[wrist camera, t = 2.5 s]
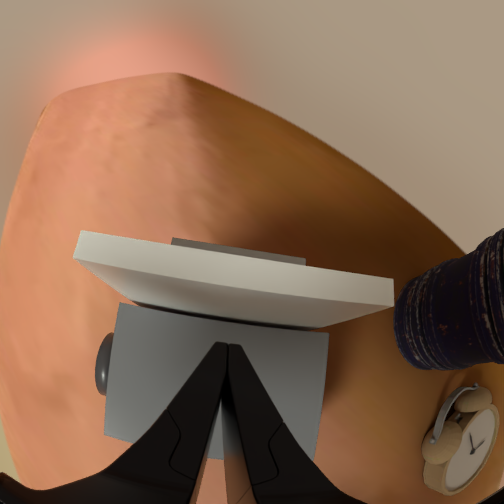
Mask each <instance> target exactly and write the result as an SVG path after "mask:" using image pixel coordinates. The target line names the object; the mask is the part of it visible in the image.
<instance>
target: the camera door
mask: <svg viewBox="0 0 504 504" xmlns="http://www.w3.org/2000/svg"><path fill="white" fill-rule="evenodd" d="M73 258H74V259H75V260H76V261H77V262H79V263H80V264H81V265H83V266H84V267H85V268H86V269H88V270H89V271H90V272H92V273H93V274H94V275H96V276H97V277H98V278H100V279H101V280H103V281H104V282H105V283H107V284H108V285H109V286H111V287H112V288H114V289H115V290H116V291H118V292H119V293H121V294H122V295H124V296H125V297H127V298H128V299H130V300H131V301H132V302H134V303H135V304H137V305H138V306H140V307H144V308H149V309H154V310H159V311H164V312H169V313H175V314H180V315H186V316H192V317H198V318H204V319H210V320H217V321H223V322H230V323H238V324H245V325H253V326H261V327H270V328H279V329H288V330H299V331H309V330H313V329H317V328H321V327H325V326H329V325H333V324H336V323H340V322H344V321H347V320H351V319H354V318H358V317H361V316H364V315H368V314H371V313H374V312H378V311H381V310H384V309H387V308H390V307H393V306H394V282H393V279H390V278H383V277H376V276H370V275H363V274H356V273H350V272H343V271H336V270H330V269H323V268H317V267H310V266H306V258H299V257H293V256H287V255H280V254H274V253H268V252H262V251H255V250H249V249H243V248H236V247H230V246H224V245H217V244H211V243H205V242H198V241H192V240H186V239H179V238H172V242H171V245H170V244H163V243H157V242H151V241H145V240H139V239H133V238H126V237H120V236H114V235H108V234H102V233H96V232H90V231H84V230H81V233H80V236H79V239H78V242H77V245H76V249H75V252H74V255H73Z"/></svg>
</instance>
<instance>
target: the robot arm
mask: <svg viewBox="0 0 504 504" xmlns="http://www.w3.org/2000/svg"><path fill="white" fill-rule="evenodd" d="M220 403H221V420H222V438H223V453H224V467H225V480H226V492H227V503H228V504H367V503H365V502H362V501H360V500H358V499H355V498H353V497H351V496H349V495H347V494H345V493H343V492H342V491H340V490H339V489H338V488H337V487H335V486H334V485H333V484H332V483H331V482H330V481H329V479H328V478H327V477H326V476H325V475H324V474H323V473H322V472H321V470H320V469H319V468H318V467H317V466H316V465H315V463H314V462H313V461H312V460H311V459H310V458H309V456H308V455H307V454H306V453H305V451H304V450H303V449H302V448H301V446H300V445H299V444H298V442H297V441H296V439H295V438H294V436H293V435H292V433H291V432H290V430H289V428H288V427H287V425H286V423H285V422H283V421H284V420H283V418H282V417H281V415H280V413H279V412H278V410H277V408H276V407H275V405H274V403H273V401H272V400H271V398H270V396H269V394H268V393H267V391H266V389H265V387H264V386H263V384H262V382H261V380H260V378H259V377H258V375H257V373H256V371H255V369H254V368H253V366H252V364H251V362H250V360H249V358H248V357H247V355H246V353H245V351H244V349H243V347H242V346H241V345H240V344H235V343H229V344H228V343H226V342H220V341H216V342H214V344H213V345H212V346H211V348H210V349H209V351H208V352H207V353H206V355H205V356H204V357H203V359H202V360H201V362H200V363H199V364H198V366H197V367H196V368H195V370H194V371H193V372H192V374H191V375H190V376H189V378H188V379H187V380H186V382H185V383H184V384H183V386H182V387H181V388H180V390H179V391H178V392H177V394H176V395H175V396H174V398H173V399H172V400H171V402H170V403H169V404H168V406H167V407H166V409H164V411H163V412H162V413H161V415H160V416H159V417H158V418H157V420H156V421H155V422H154V423H153V424H152V426H151V427H150V428H149V429H148V430H147V431H146V432H145V433H144V434H143V435H142V436H141V437H140V438H139V439H138V440H137V441H136V442H135V443H134V444H133V445H132V446H131V447H130V448H128V449H127V450H126V451H125V452H124V453H123V454H122V455H121V456H120V457H119V458H117V459H116V460H115V461H114V462H113V463H112V464H110V465H109V466H108V467H106V468H105V469H104V470H102V471H100V472H98V473H96V474H94V475H92V476H89V477H86V478H83V479H80V480H77V481H75V482H72V483H68V484H65V485H62V486H59V487H55V488H52V489H48V490H34V489H30V488H28V487H26V486H24V485H22V484H21V483H19V482H17V481H16V480H14V479H13V478H11V477H10V476H8V475H7V474H5V473H3V472H1V473H0V504H196V501H197V497H198V493H199V489H200V485H201V481H202V477H203V473H204V469H205V465H206V461H207V457H208V453H209V449H210V445H211V441H212V437H213V433H214V428H215V424H216V420H217V416H218V412H219V408H220ZM476 504H504V487H502V488H501V489H499V490H498V491H496V492H495V493H493V494H491V495H490V496H488V497H487V498H485V499H483V500H482V501H480V502H478V503H476Z"/></svg>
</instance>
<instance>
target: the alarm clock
mask: <svg viewBox="0 0 504 504" xmlns="http://www.w3.org/2000/svg"><path fill="white" fill-rule="evenodd" d="M456 398H457V399H456ZM455 400H456V401H455ZM454 401H455V404H454V409H455V410H456V411H455V412H454V413H453V414H452V415H451V416H450V417H449V418H448V420H447V421H445V422H444V420H445V418H446V415H447V413H448V411H449V409H450V407H451V406H452V404H453V403H454ZM491 403H492V395H491V392H490V391H489V390H488V389H487V388H484V387H480V386H478V384H477V383H474V384H473V386H472V387H459V388H457V389H456V390H455V391H453V392H452V393H451V394H450V396H449V397H448V398H447V400H446V401H445V402H444V404H443V406H442V408H441V409H440V412H439V414H438V416H437V420H436V423H435V426H434V427H433V428H432V429H431V430H430V431H429V432H428V433H427V435H426V436H425V438H424V440H423V443H422V448H421V450H422V455H423V457H424V459H425V460H426V462H425V467H424V472H423V477H424V483H425V484H426V485H427V487H428V488H430V489H433V490H436V491H438V492H440V493H442V494H444V495H447V496H452V495H455V494H457V493H459V492H461V491H462V490H463V489H464V488H466V487H467V486H468V485H469V484H470V483H471V482H472V481H473V480H474V479H475V478H476V476H477V475H478V474H479V472H480V471H481V470H482V468H483V467H484V465H485V464H486V462H487V460H488V458H489V456H490V454H491V452H492V450H493V447H494V444H495V441H496V438H497V434H498V429H499V413H498V409H497V407H495V406H494V405H493V404H491Z"/></svg>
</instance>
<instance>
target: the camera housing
mask: <svg viewBox="0 0 504 504" xmlns="http://www.w3.org/2000/svg"><path fill="white" fill-rule="evenodd" d="M216 341H220V342H226V343H228V344H229V343H235V344H240V345H241V346H242V347H243V349H244V351H245V353H246V355H247V357H248V358H249V360H250V362H251V364H252V366H253V368H254V369H255V371H256V373H257V375H258V377H259V378H260V380H261V382H262V384H263V386H264V387H265V389H266V391H267V393H268V394H269V396H270V398H271V400H272V401H273V403H274V405H275V407H276V408H277V410H278V412H279V413H280V415H281V417H282V418H283V420H284V421H283V422H285V423H286V425H287V427H288V428H289V430H290V432H291V433H292V435H293V436H294V438H295V439H296V441H297V442H298V444H299V445H300V446H301V448H302V449H303V450H304V451H305V453H306V454H307V455H308V456H309V458H310V459H311V460H312V461H313V460H314V455H315V449H316V443H317V437H318V431H319V424H320V417H321V410H322V402H323V394H324V386H325V377H326V367H327V356H328V344H329V333H322V332H310V331H299V330H288V329H279V328H270V327H261V326H253V325H245V324H238V323H230V322H223V321H217V320H210V319H204V318H198V317H192V316H186V315H180V314H175V313H169V312H164V311H159V310H154V309H149V308H144V307H139V306H134V305H130V304H125V303H121V302H120V303H119V308H118V314H117V319H116V325H115V330H114V333H109V334H108V335H107V336H106V337H105V338H104V340H103V342H102V344H101V346H100V349H99V352H98V355H97V360H96V367H95V381H96V386H97V389H98V391H99V393H100V394H102V395H104V396H106V406H105V424H104V435H107V436H110V437H113V438H116V439H119V440H123V441H126V442H130V443H133V444H134V443H135V442H136V441H137V440H138V439H139V438H140V437H141V436H142V435H143V434H144V433H145V432H146V431H147V430H148V429H149V428H150V427H151V426H152V424H153V423H154V422H155V421H156V420H157V418H158V417H159V416H160V415H161V413H162V412H163V411H164V409H166V407H167V406H168V404H169V403H170V402H171V400H172V399H173V398H174V396H175V395H176V394H177V392H178V391H179V390H180V388H181V387H182V386H183V384H184V383H185V382H186V380H187V379H188V378H189V376H190V375H191V374H192V372H193V371H194V370H195V368H196V367H197V366H198V364H199V363H200V362H201V360H202V359H203V357H204V356H205V355H206V353H207V352H208V351H209V349H210V348H211V346H212V345H213V344H214V342H216ZM207 458H211V459H220V460H224V453H223V438H222V420H221V403H220V408H219V412H218V416H217V420H216V424H215V428H214V433H213V437H212V441H211V445H210V449H209V453H208V457H207Z"/></svg>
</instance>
